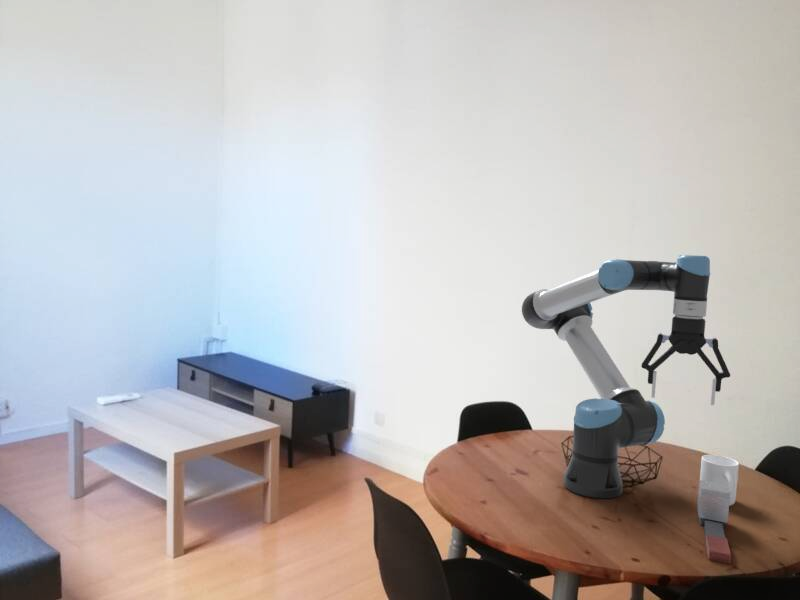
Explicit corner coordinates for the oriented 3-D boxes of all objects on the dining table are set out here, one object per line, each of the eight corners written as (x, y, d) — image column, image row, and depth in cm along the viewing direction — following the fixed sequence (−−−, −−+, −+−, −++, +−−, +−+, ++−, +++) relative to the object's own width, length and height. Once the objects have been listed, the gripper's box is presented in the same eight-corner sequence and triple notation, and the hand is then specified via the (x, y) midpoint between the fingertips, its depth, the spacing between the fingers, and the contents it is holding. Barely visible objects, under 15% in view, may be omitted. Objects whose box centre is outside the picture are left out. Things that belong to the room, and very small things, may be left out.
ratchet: (732, 564, 126) (735, 536, 126) (705, 558, 128) (708, 531, 128) (721, 520, 147) (724, 496, 147) (698, 516, 149) (700, 492, 149)
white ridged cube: (698, 517, 144) (701, 488, 143) (697, 508, 149) (699, 480, 149) (727, 522, 142) (730, 493, 141) (724, 513, 147) (727, 484, 146)
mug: (711, 510, 153) (714, 469, 152) (693, 492, 165) (696, 453, 164) (747, 513, 152) (751, 471, 151) (726, 494, 164) (730, 455, 163)
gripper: (635, 314, 155) (628, 396, 156) (747, 322, 145) (739, 410, 147) (636, 311, 162) (630, 390, 163) (743, 319, 152) (735, 403, 154)
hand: (681, 400), depth 155 cm, fingers open, 13 cm apart
